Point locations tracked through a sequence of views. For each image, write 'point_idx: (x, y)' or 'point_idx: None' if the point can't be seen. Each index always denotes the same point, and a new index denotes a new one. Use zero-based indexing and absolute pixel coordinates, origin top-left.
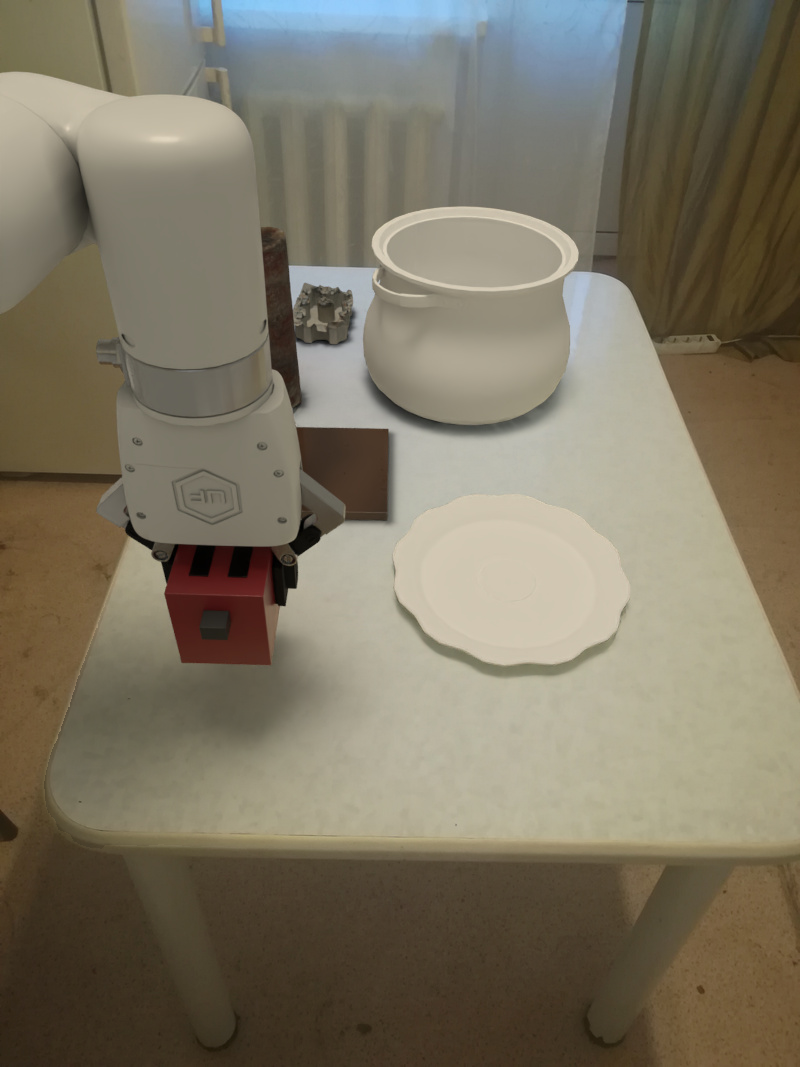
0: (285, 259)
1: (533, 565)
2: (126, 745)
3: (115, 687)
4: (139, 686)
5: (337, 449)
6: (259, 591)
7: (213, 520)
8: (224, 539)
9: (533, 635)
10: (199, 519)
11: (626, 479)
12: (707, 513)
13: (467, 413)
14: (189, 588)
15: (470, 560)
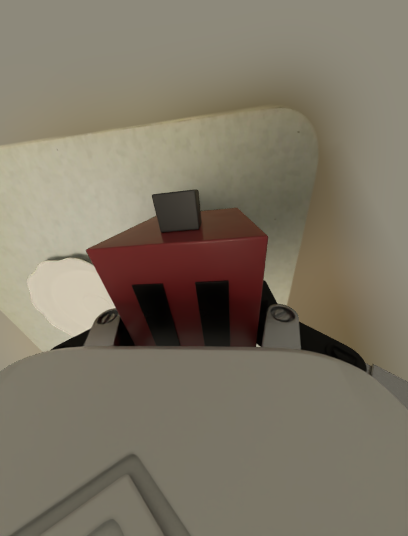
0: None
1: (88, 313)
2: (272, 184)
3: (284, 226)
4: (270, 228)
5: None
6: (97, 260)
7: (112, 495)
8: (135, 370)
9: (71, 277)
10: (170, 503)
11: None
12: (32, 340)
13: None
14: (220, 254)
15: None
